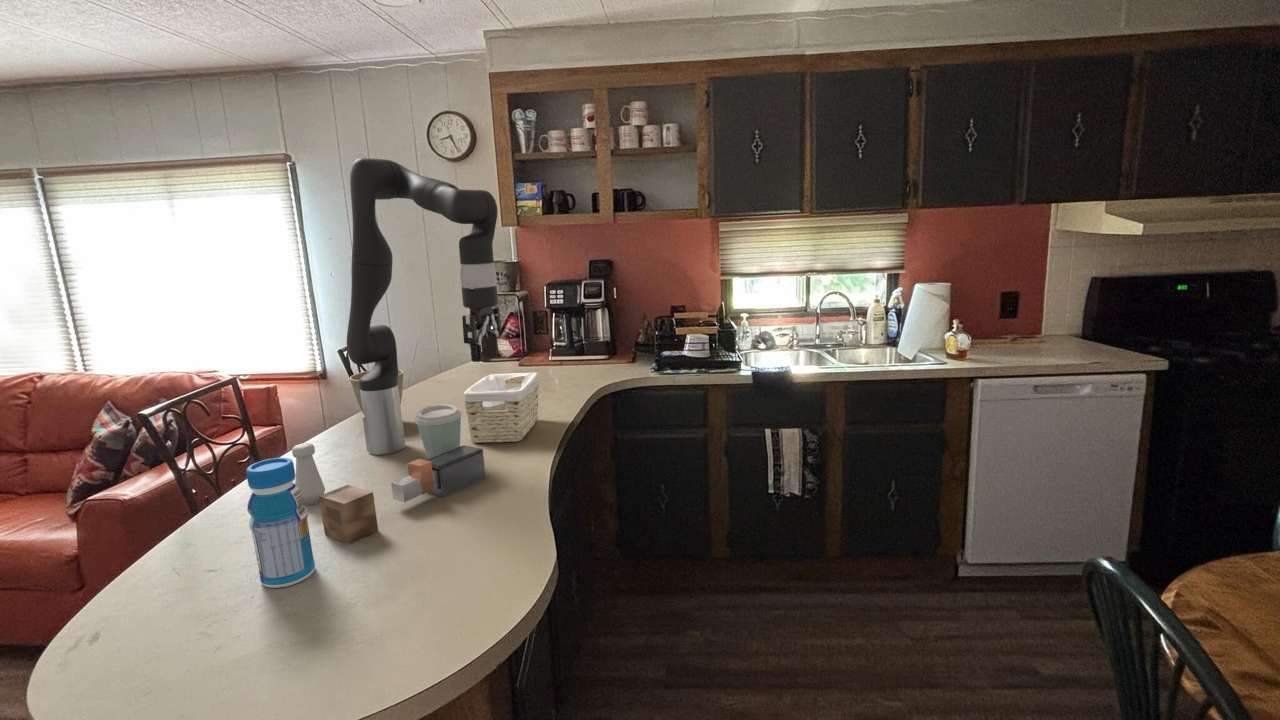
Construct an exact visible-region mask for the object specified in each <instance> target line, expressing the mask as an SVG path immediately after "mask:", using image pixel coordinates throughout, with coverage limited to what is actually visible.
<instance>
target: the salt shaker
mask: <svg viewBox="0 0 1280 720" xmlns="http://www.w3.org/2000/svg"><path fill="white" fill-rule="evenodd" d="M291 453H292V456H293V457H294V458H296V459H295V480H294V481H295V483H294V484H295V485H296V486H297V487H298V488H299V489H300V490H301V492H302V493H303V495H304V501H303V505H304V506H305V507H306V506H314V505H316V504H319V503H320V500H319V496H320V495H323V494H325V492H326V487H325V484H324V482H323V479H322V477H321V475H320V471H319V470H318V467H317V465H316V462H315V459H314V456H313V455H314V454H315V453H316V447H315V445H314V444H312V443H309V442H304V443H299V444H297V445H294V446H293V447H292V449H291Z"/></svg>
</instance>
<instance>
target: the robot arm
mask: <svg viewBox="0 0 1280 720" xmlns="http://www.w3.org/2000/svg"><path fill="white" fill-rule="evenodd" d="M349 187H350V200H351V215H352V249H351V250H352V251H351V267H350V268H351V271H350V272H351V290H350V291H351V292H350V308H349V316H348V325H347V332H346V350H347V355H348V357H349V359H350V360H351V362H352V363H353V364H356V365H366V364H371V363H374V365H373V366H372V368H371V370H369V371H370V372H368V373H367V374H365V375H364V376H363V377H361V378H360V380H359V385H360V392H361V399H362V406H363V413H364V415H362V422H363V423H362V425H363V431H364V437H365V445H366V450H367V451H368V453H369V454H371V455H377V456H378V455H379V456H380V455H382V456H383V455H389V454H394V453H397V452H400V451H402V450H403V449H405V448H406V440H405V431H404V423H403V422H404V421H403V416H402V415H403V414H402V409H401V406H400V399H399V391H398V385H397V384H398V383H397V377H398V369H399V365H398V364H399V363H398V351H397V350H398V349H397V341H396V337H395V334H394V332H393V330H392V329H391V328H390V327H389V326H387V325H384V324H379V325H372V326H371V322H372V318H373V314H374V311H375V310H376V307H377V306H378V304H379V303H380V301H381V300H382V298H383V297H384V295H385V294H386V292H387V290H388V289H389V286H390V285H391V282H392V276H393V253H392V249H391V247H390V246H389V244H388V242H387V240H386V238H385V237H384V235H383V233H382V231H381V229H380V228H379V225H378V223H377V217H376V200H381V201H383V200H393V199H407V200H412V201H413V202H414V203H415V204H416V205H417V206H419V207H420V208H422V209H424V210H426V211H429V212H432V213H435V214H439V215H442V216H443V217H444V218H446V219H447V220H449V221H451V222H452V223H456V224H460V225H472V227H471V230H470V233H469V234H467V235H464V236H462V237H461V238H460V239H459V242H458V248H459V249H458V250H459V252H458V253H459V260H460V261H459V262H460V263H459V264H460V270H459V271H460V286H461V288H460V289H461V297H462V306H463V307H464V308H466V309H469V314H468V315H467V314H466V315H465V314H464V315H462V318H461V319H462V332H463V333H462V335H463V343H464V344H468V345H469V348H470V356H471V358H470V359H471V362H472V363H480V362H482V361H483V353H482V344H481V343H482V338H483V337H484V336H485V335H486V344H487V353H488V354H490V355H495V354H498V353H499V347H498V337H499V334H500V333H502V323H501V314H500V308H499V307H498V304H499V297H498V282H497V273H496V268H495V267H496V266H495V263H494V259H495V258H494V248H493V243H494V242H493V241H494V237H495V233H496V232H495V231H496V225H497V221H498V219H497V218H498V205H497V201H496V199H495V197H494V196H493V195H492V193H490V191H487V190H483V189H461V188H458V186H456V185H454V184H452V183H450V182H446V181H443V180H440V179H436V178H432V177H430V176H429V177H428V176H426V175H425V176H424V175H421V174H418V173H416V172H414V171H412V170H410V169H408V168H407V167H405V166H404V165H402V164H400V163H398V162H395V161H393V160H389V159H386V158H385V159H384V158H366V157H363V158H357V159H355V161H353V163H352V164H351V170H350V174H349ZM363 413H362V414H363Z"/></svg>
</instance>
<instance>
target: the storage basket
mask: <svg viewBox="0 0 1280 720" xmlns="http://www.w3.org/2000/svg"><path fill="white" fill-rule="evenodd" d="M507 384H520V385H517V386H515V387H512V388H509V389H507ZM539 385H540V380H539V372H515V373H512V372H511V373H490V374H489V375H485V376H484V377H483V378H481V379H479V380H478V381H477V382H476V383H474V384H472V385H471V386H470V387H468V388H467V389H466V390H465V391H464V392H463V402H464V408H465V413H466V417H467V423H468V429H469V434H470V439H469V440H470V441H471V442H472V443H482V444H486V443H490V444H491V443H504V442H505V443H512V442H513V443H515V442H516V443H517V442H521V441H522V440H523V439H524V438H525V436H526V435H527V434H528V433H529V432H530V430H531V429H532V428H533V426H534V425H535V424H536V423H537V422H538V419H539V412H538V411H539V388H540V386H539Z"/></svg>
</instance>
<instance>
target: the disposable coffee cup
mask: <svg viewBox="0 0 1280 720" xmlns="http://www.w3.org/2000/svg"><path fill="white" fill-rule="evenodd" d="M415 414H416V416H415V417H414V423H415V424H417V425H416V426H417V429H418V432H419V435H420V438H421V441H422V445H423V447H424V448H423V449H424V452H425V454H426V458H427V460H428V459H430V458H433V457H435V456H438V455H440V454H443V453H445V452H448V451H450V450H453V449H455V448H458V447H461V426H462V425H461V421H462V420H461V417H462V411H460V410H459V408H457V406H455V405H452V404H448V403H447V404H445V403H444V404H443V403H441V404H439V403H437V404H433V405H428V406H425V407H424V406H423V407H421V408H419V410H417V412H416V413H415Z"/></svg>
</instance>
